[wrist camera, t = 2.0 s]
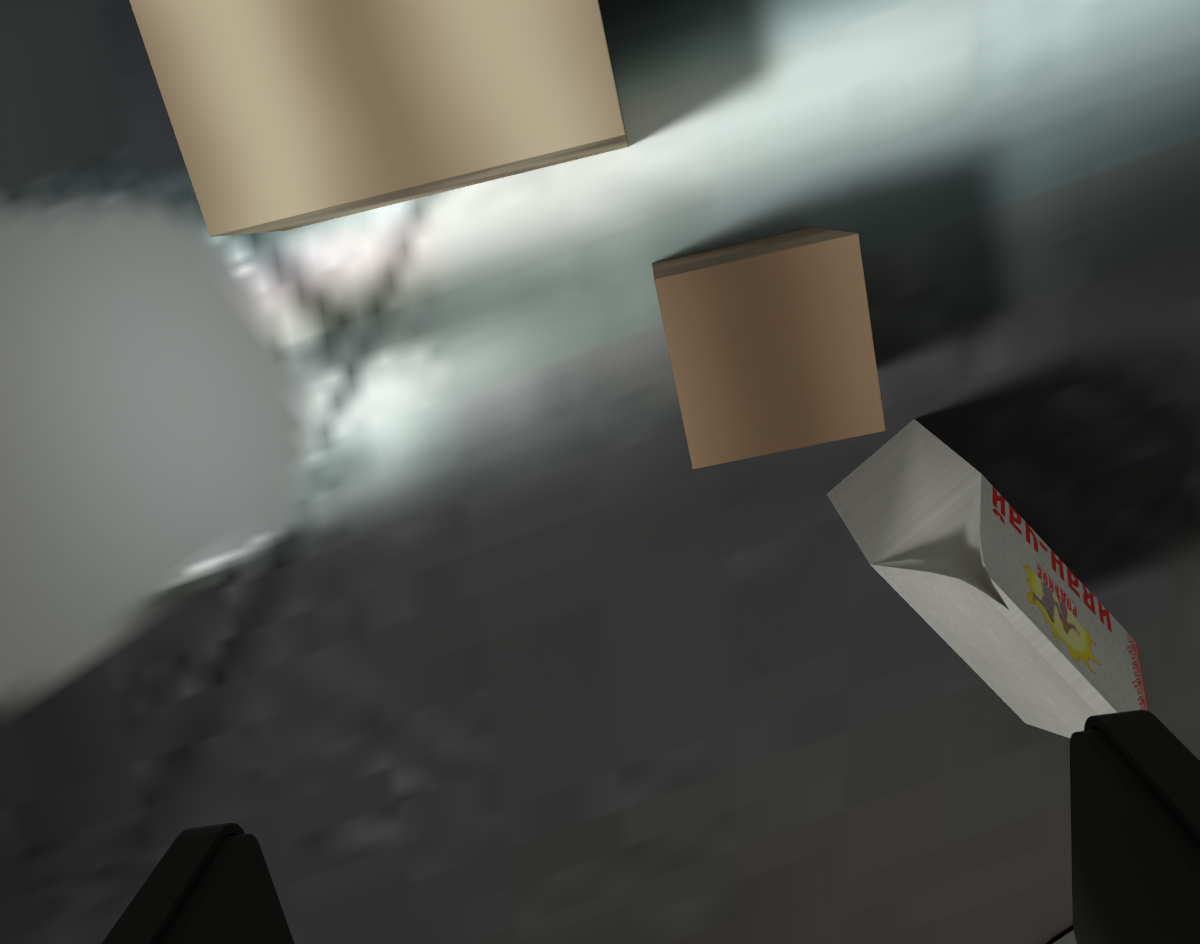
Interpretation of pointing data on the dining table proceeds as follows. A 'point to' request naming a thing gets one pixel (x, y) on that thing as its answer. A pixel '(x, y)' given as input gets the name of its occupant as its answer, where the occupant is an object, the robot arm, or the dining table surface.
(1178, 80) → the dining table surface
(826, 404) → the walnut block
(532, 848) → the dining table surface
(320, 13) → the block
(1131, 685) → the white paper bag
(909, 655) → the dining table surface
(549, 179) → the dining table surface
